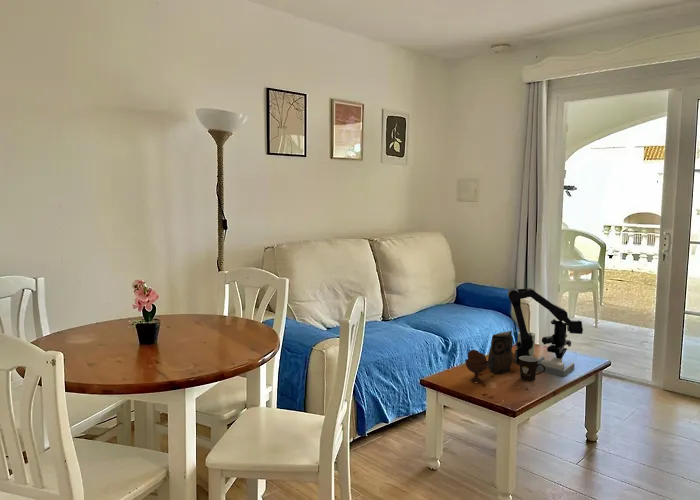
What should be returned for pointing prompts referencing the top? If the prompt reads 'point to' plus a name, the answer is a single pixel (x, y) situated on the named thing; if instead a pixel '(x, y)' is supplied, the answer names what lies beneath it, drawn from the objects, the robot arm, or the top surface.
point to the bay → (554, 370)
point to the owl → (501, 353)
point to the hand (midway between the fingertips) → (558, 362)
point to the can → (533, 343)
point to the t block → (553, 363)
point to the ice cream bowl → (476, 364)
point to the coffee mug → (528, 367)
